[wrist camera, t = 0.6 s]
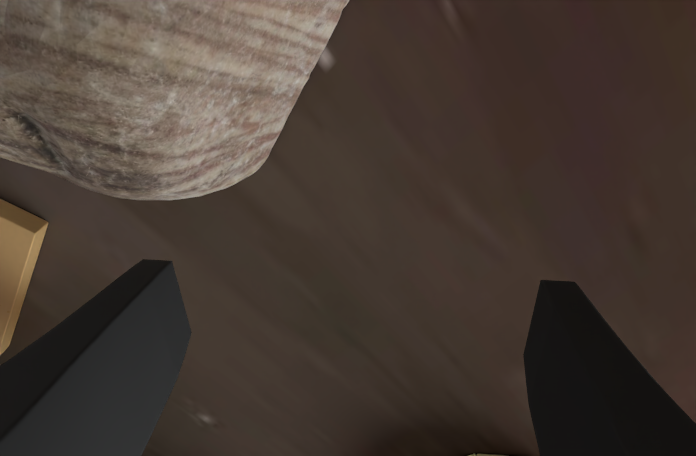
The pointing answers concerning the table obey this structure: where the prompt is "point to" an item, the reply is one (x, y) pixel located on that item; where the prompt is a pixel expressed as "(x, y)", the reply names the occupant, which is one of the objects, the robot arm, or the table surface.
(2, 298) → the peg stand
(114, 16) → the stone
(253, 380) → the table surface
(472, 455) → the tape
